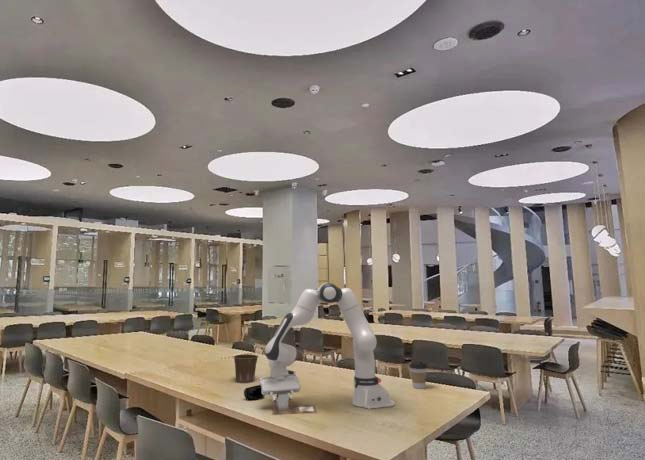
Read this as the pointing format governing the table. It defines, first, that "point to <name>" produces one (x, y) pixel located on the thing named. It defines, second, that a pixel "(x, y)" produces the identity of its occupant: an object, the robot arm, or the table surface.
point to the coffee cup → (418, 374)
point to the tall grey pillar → (282, 401)
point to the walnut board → (295, 409)
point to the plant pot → (245, 367)
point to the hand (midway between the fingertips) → (282, 400)
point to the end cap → (253, 393)
